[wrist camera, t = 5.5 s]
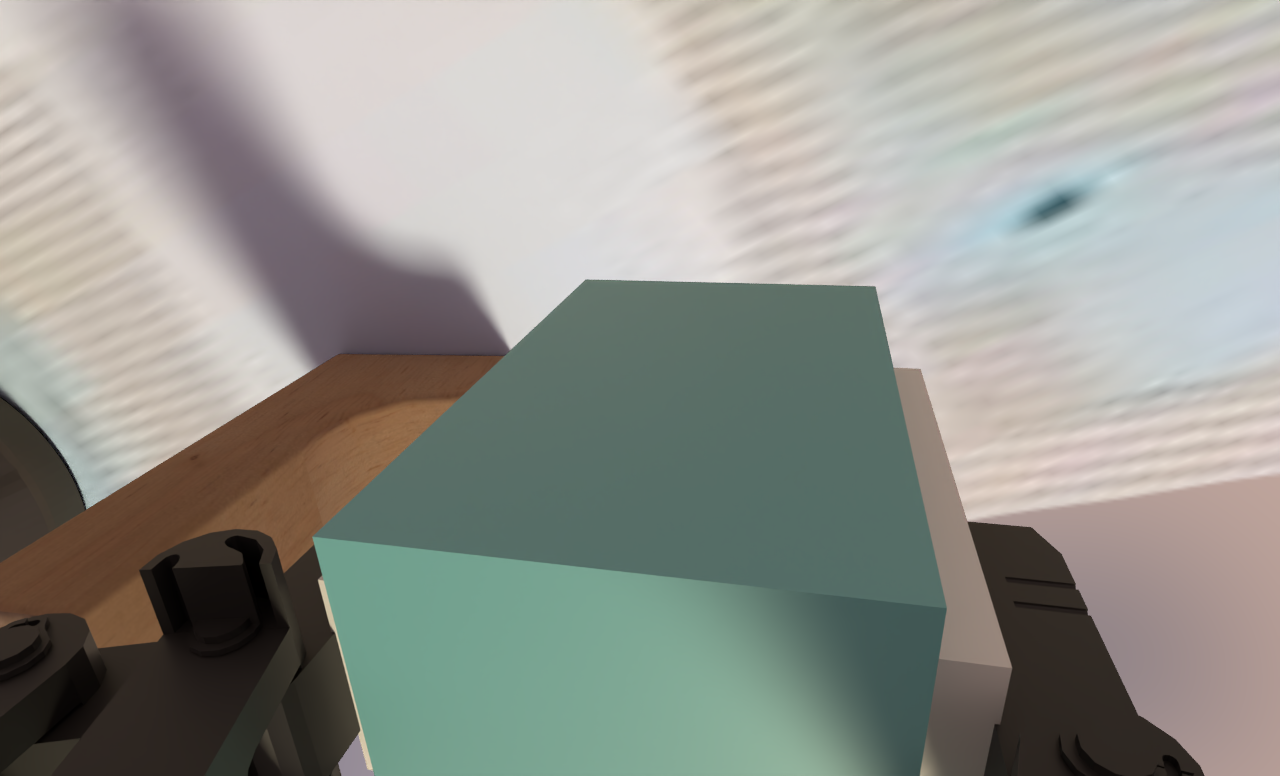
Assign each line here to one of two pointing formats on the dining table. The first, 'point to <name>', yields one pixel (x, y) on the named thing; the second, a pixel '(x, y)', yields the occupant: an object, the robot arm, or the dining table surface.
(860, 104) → the dining table surface
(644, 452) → the teal block
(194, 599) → the robot arm
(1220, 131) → the dining table surface
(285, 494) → the wooden block
